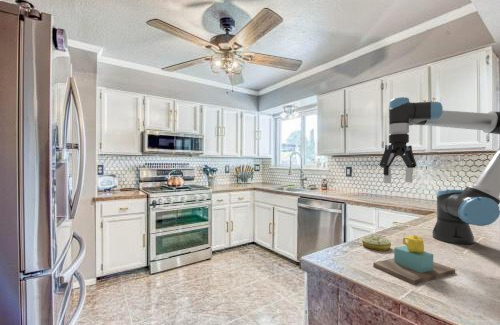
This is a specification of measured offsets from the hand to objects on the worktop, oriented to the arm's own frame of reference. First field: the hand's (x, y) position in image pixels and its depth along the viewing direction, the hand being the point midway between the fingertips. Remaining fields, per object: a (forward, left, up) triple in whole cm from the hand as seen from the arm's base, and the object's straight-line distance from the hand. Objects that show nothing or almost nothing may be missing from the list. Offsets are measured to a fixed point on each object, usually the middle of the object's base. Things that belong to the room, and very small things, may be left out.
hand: (398, 182), depth 110 cm
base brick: (+20, +20, -25) cm, 38 cm away
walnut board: (+20, +20, -27) cm, 39 cm away
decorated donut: (+12, -1, -27) cm, 30 cm away
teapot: (+20, +20, -21) cm, 35 cm away
